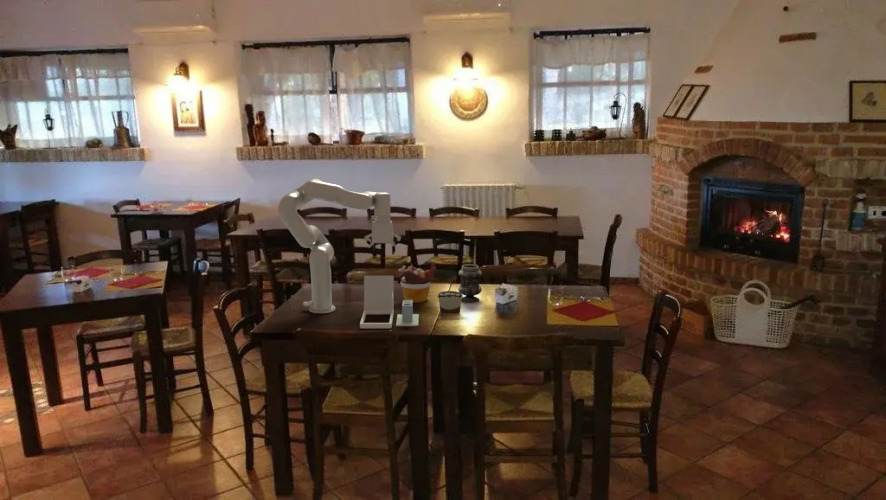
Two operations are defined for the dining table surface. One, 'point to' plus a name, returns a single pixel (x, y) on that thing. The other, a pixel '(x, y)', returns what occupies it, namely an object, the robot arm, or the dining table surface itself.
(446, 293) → the food container
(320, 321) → the dining table surface
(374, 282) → the case
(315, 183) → the robot arm
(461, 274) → the apothecary jar
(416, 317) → the mat
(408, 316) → the box
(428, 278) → the bucket of meat
